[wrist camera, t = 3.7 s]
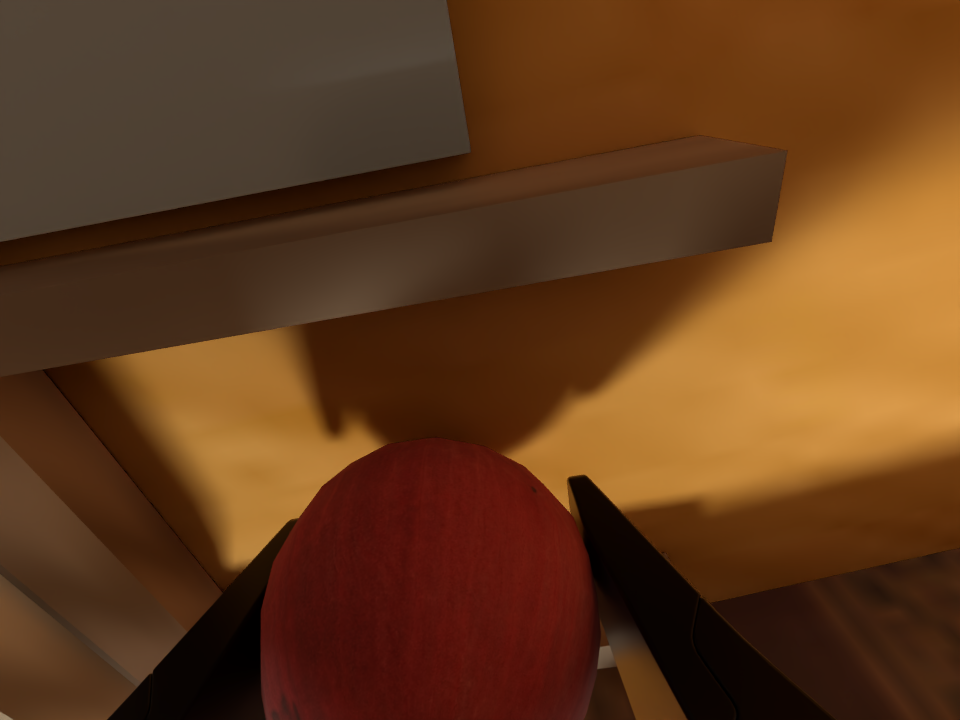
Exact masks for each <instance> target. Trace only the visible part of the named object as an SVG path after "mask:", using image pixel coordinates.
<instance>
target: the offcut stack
mask: <svg viewBox="0 0 960 720" xmlns="http://www.w3.org/2000/svg"><path fill="white" fill-rule="evenodd" d="M222 594H223V593H222V591H221V590H220V589H219V588H218V586H217V585H216V584H215V583H214V581H213V580H212V579H211V578H210V577H209V575H208V574H207V573H206V572H205V570H204V569H203V568H202V567H201V565H200V564H199V563H198V562H197V560H196V559H195V558H194V557H193V555H192V554H191V553H190V552H189V551H188V549H187V548H186V547H185V546H184V544H183V543H182V542H181V541H180V539H179V538H178V537H177V536H176V534H175V533H174V532H173V531H172V530H171V528H170V527H169V526H168V525H167V523H166V522H165V521H164V520H163V518H162V517H161V516H160V515H159V513H158V512H157V511H156V510H155V508H154V507H153V506H152V505H151V504H150V502H149V501H148V500H147V499H146V497H145V496H144V495H143V494H142V492H141V491H140V490H139V489H138V487H137V486H136V485H135V484H134V482H133V481H132V480H131V479H130V478H129V476H128V475H127V474H126V473H125V471H124V470H123V469H122V468H121V466H120V465H119V464H118V463H117V461H116V460H115V459H114V458H113V457H112V455H111V454H110V453H109V452H108V450H107V449H106V448H105V447H104V445H103V444H102V443H101V442H100V440H99V439H98V438H97V437H96V435H95V434H94V433H93V432H92V431H91V429H90V428H89V427H88V426H87V424H86V423H85V422H84V421H83V419H82V418H81V417H80V416H79V414H78V413H77V412H76V411H75V409H74V408H73V407H72V406H71V405H70V403H69V402H68V401H67V400H66V398H65V397H64V396H63V395H62V393H61V392H60V391H59V390H58V388H57V387H56V386H55V385H54V383H53V382H52V381H51V380H50V379H49V377H48V376H47V375H46V374H45V372H44V371H43V370H37V371H31V372H25V373H20V374H14V375H8V376H2V377H0V720H107V719H108V718H109V717H110V716H111V715H112V714H113V712H114V711H115V710H116V709H117V708H118V707H119V706H120V705H121V704H122V703H123V702H124V701H125V700H126V699H127V698H128V697H129V695H130V694H131V693H132V692H133V691H134V690H135V689H136V688H137V687H138V686H139V685H140V683H141V682H142V681H143V680H144V679H145V678H146V677H147V676H148V675H149V674H151V673H152V674H153V670H154V668H155V667H156V666H157V665H158V664H159V663H160V662H161V661H162V659H163V658H164V657H165V656H166V655H167V654H168V653H169V652H170V651H171V650H172V648H173V647H174V646H175V645H176V644H177V643H178V642H179V641H180V640H181V639H182V637H183V636H184V635H185V634H186V633H187V632H188V631H189V630H190V629H191V628H192V626H193V625H194V624H195V623H196V622H197V621H198V620H199V619H200V618H201V617H202V616H203V614H204V613H205V612H206V611H207V610H208V609H209V608H210V607H211V606H212V605H213V603H214V602H215V601H216V600H217V599H218V598H219V597H220V596H221V595H222Z"/></svg>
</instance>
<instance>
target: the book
mask: <svg viewBox="0 0 960 720" xmlns="http://www.w3.org/2000/svg"><path fill="white" fill-rule="evenodd" d="M710 604H711V605H712V606H713V607H714V608H715V610H716V611H717V612H718V613H719V614H720V615H721V616H722V617H723V618H724V619H725V620H726V621H727V622H728V623H729V624H730V625H731V626H732V627H733V628H734V629H735V630H736V631H737V632H738V633H739V634H740V635H742V636H743V637H744V638H745V639H746V640H747V641H748V642H749V643H750V644H751V645H752V646H753V647H755V648H756V649H757V650H758V651H759V652H760V653H761V654H762V655H763V656H765V657H766V658H767V659H768V660H769V661H770V662H771V663H772V664H773V665H775V666H776V667H777V668H778V669H779V670H780V671H781V672H783V673H784V674H785V675H786V676H787V677H788V678H789V679H791V680H792V681H793V682H794V683H795V684H796V685H798V686H799V687H800V688H801V689H802V690H803V691H804V692H806V693H807V694H808V695H809V696H810V697H811V698H813V699H814V700H815V701H816V702H817V703H818V704H819V705H821V706H822V707H823V708H824V709H825V710H826V711H827V712H829V713H830V714H831V715H832V716H833V717H834V718H836V719H837V720H960V548H958V549H954V550H949V551H944V552H940V553H935V554H931V555H926V556H922V557H917V558H913V559H908V560H904V561H899V562H895V563H890V564H886V565H881V566H877V567H872V568H868V569H863V570H858V571H854V572H849V573H845V574H840V575H836V576H831V577H827V578H822V579H818V580H813V581H809V582H804V583H800V584H795V585H791V586H786V587H781V588H777V589H772V590H768V591H763V592H759V593H754V594H750V595H745V596H741V597H736V598H732V599H727V600H723V601H718V602H714V603H710ZM584 720H636V718H635V715H634V713H633V710H632V707H631V704H630V701H629V698H628V696H627V693H626V690H625V687H624V684H623V682H622V679H621V676H620V673H619V670H618V667H610V668H602V669H597V676H596V680H595V683H594V687H593V691H592V695H591V698H590V702H589V706H588V710H587V713H586V716H585V718H584Z"/></svg>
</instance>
